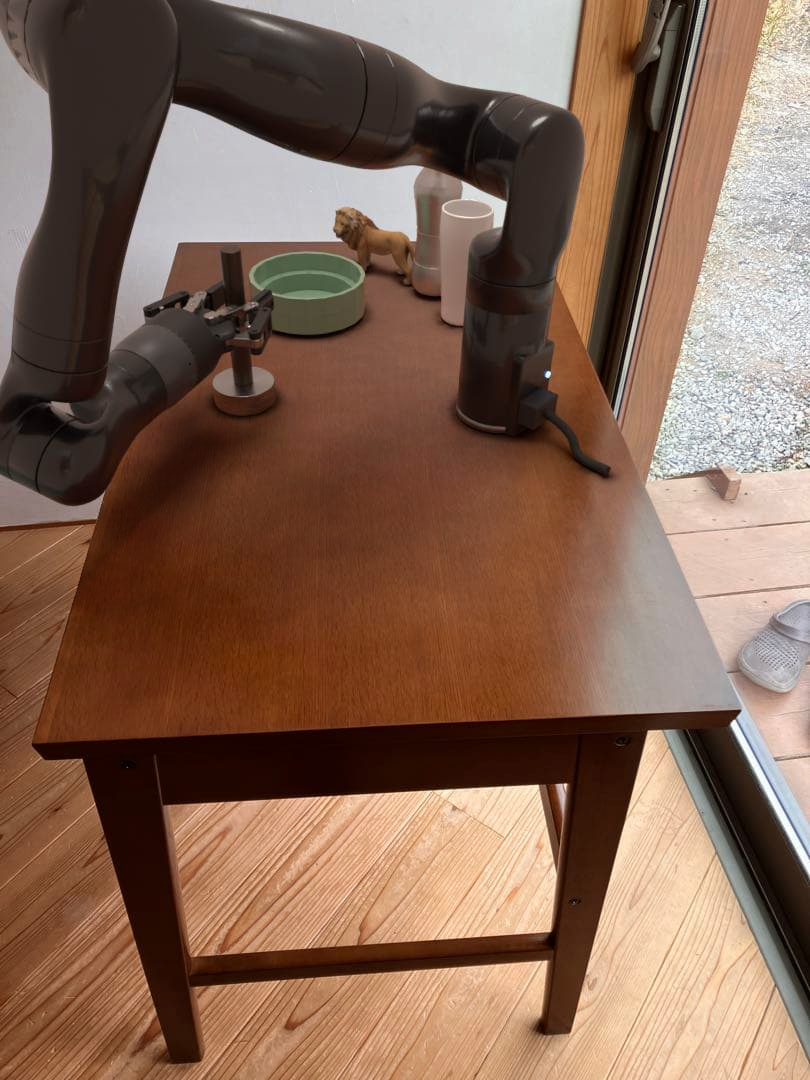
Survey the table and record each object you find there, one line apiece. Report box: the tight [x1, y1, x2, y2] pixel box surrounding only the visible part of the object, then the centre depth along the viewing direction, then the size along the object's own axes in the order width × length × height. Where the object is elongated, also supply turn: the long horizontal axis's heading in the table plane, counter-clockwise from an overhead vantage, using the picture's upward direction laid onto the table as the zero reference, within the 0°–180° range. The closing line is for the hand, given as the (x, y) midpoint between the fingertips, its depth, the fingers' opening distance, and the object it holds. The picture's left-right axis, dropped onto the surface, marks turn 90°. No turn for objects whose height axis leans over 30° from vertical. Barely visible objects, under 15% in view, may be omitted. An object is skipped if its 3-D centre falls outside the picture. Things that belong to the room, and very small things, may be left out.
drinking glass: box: [440, 198, 495, 327], centre depth 116 cm, size 7×7×15 cm
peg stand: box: [212, 244, 277, 417], centre depth 97 cm, size 7×7×18 cm
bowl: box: [248, 251, 366, 336], centre depth 119 cm, size 15×15×6 cm
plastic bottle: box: [411, 167, 464, 297], centre depth 120 cm, size 6×7×20 cm
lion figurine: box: [332, 206, 415, 286], centre depth 128 cm, size 15×5×9 cm, turn 70°
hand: (247, 293), depth 97 cm, fingers open, 4 cm apart
